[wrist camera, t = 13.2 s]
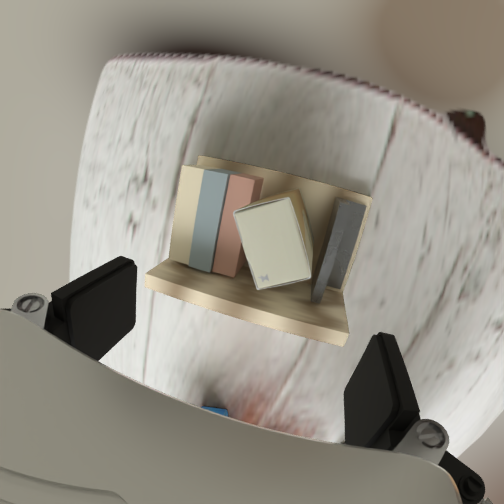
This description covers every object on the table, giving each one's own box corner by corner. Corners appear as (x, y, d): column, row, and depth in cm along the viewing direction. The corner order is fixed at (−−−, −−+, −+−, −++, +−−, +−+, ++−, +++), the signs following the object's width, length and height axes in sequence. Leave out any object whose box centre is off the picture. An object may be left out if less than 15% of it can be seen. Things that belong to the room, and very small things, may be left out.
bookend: (366, 205, 29) (376, 213, 24) (339, 288, 33) (343, 310, 27) (335, 196, 30) (340, 202, 25) (311, 280, 33) (310, 301, 28)
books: (264, 177, 31) (253, 180, 26) (245, 262, 34) (232, 279, 29) (201, 164, 32) (180, 165, 27) (188, 245, 35) (167, 259, 30)
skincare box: (315, 240, 32) (314, 283, 20) (278, 249, 33) (257, 295, 21) (299, 184, 30) (290, 194, 19) (261, 195, 32) (230, 211, 20)
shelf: (370, 196, 30) (394, 210, 21) (337, 298, 35) (343, 346, 25) (203, 155, 33) (159, 153, 23) (186, 255, 37) (144, 286, 27)
